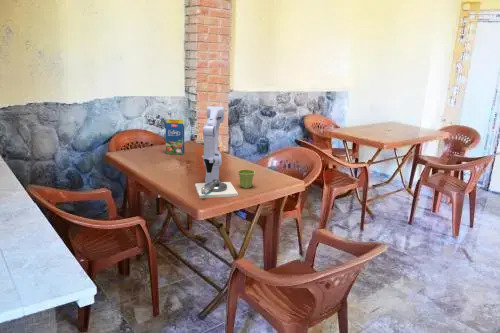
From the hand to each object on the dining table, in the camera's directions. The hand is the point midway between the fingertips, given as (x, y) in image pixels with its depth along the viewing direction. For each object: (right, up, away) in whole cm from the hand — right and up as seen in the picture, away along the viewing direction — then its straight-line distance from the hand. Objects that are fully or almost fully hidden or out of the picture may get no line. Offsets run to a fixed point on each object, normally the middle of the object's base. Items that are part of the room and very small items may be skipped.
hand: (209, 172), depth 221 cm
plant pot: (+20, -8, +9) cm, 23 cm away
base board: (+4, -10, 0) cm, 11 cm away
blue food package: (-32, +12, +77) cm, 84 cm away
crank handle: (+2, -10, -5) cm, 11 cm away
